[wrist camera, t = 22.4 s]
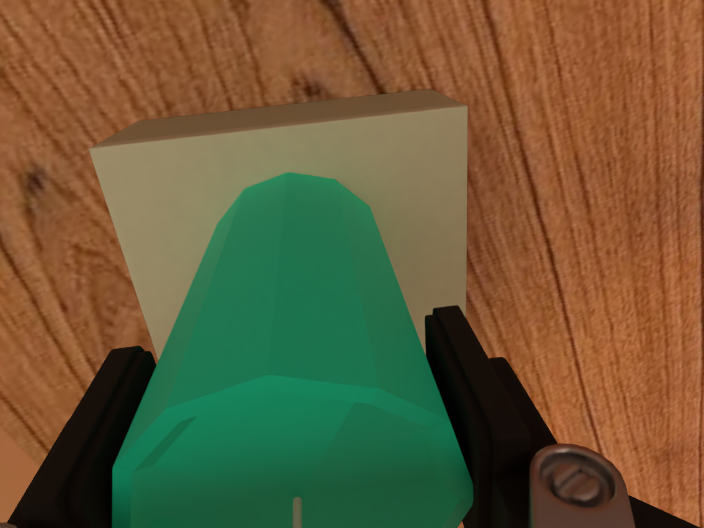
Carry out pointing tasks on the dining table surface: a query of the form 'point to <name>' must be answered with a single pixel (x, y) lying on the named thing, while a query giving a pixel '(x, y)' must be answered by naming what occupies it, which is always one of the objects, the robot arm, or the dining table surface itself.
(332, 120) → the beige rectangular block
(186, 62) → the dining table surface
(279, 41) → the dining table surface
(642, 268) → the dining table surface
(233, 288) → the candle
